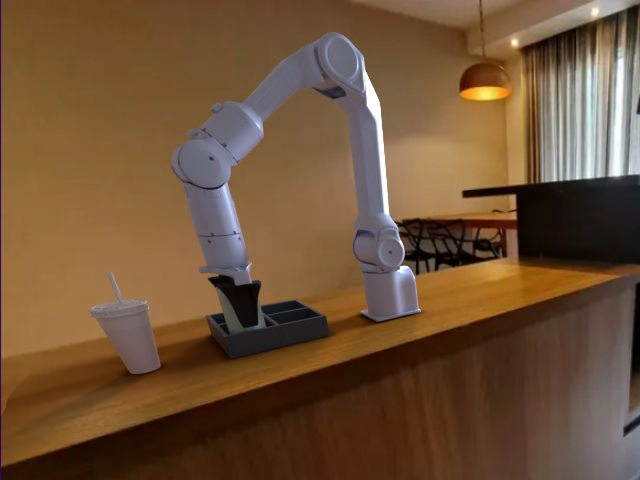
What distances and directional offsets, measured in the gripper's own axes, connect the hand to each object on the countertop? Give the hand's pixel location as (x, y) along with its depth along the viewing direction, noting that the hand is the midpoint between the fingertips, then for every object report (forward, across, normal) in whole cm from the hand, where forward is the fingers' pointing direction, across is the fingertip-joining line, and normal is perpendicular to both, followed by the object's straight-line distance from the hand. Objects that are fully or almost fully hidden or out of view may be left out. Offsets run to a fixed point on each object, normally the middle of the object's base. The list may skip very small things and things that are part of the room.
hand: (246, 322), depth 71 cm
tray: (+4, -4, +4) cm, 7 cm away
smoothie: (+4, -1, -14) cm, 15 cm away
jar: (+2, 0, 0) cm, 2 cm away
